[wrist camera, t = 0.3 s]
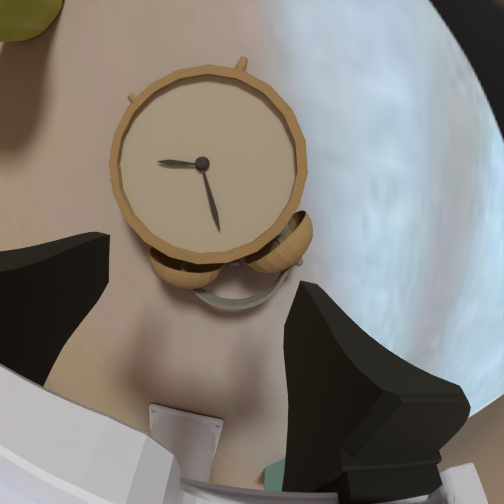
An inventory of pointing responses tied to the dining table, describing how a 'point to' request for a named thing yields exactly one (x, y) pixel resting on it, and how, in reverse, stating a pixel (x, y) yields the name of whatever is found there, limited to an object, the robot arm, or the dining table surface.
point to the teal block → (274, 476)
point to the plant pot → (26, 18)
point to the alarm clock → (212, 178)
